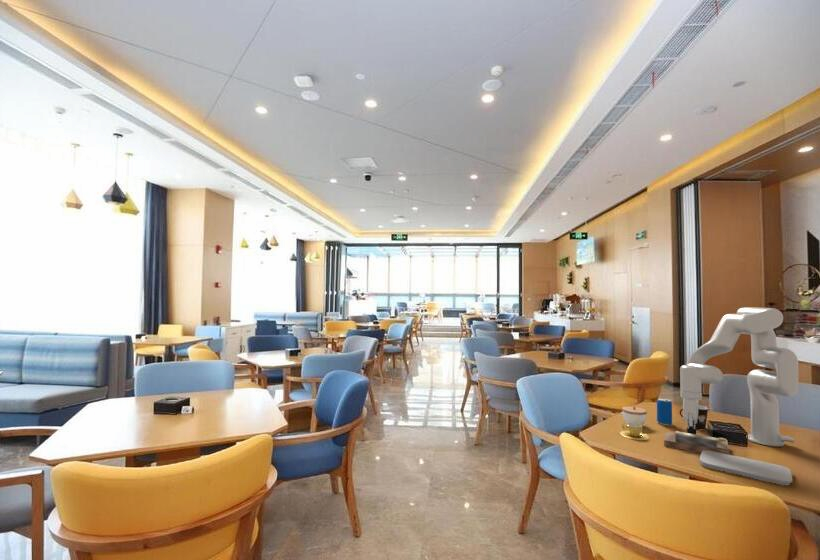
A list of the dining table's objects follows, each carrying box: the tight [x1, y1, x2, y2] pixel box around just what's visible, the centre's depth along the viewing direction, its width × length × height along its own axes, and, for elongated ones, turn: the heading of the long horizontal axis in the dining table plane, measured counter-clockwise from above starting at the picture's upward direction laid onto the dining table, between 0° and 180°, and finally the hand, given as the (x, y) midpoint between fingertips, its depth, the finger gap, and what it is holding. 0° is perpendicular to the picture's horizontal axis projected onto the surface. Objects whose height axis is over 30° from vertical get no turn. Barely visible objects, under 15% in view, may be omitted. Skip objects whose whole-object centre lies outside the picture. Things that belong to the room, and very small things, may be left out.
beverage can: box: [656, 397, 673, 426], centre depth 203 cm, size 6×6×12 cm
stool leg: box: [675, 430, 729, 449], centre depth 168 cm, size 18×3×4 cm, turn 55°
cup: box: [619, 422, 650, 441], centre depth 185 cm, size 12×12×5 cm
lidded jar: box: [621, 405, 648, 425], centre depth 200 cm, size 11×11×9 cm
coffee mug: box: [679, 404, 709, 430], centre depth 198 cm, size 12×9×10 cm
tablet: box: [699, 450, 793, 486], centre depth 150 cm, size 16×26×2 cm, turn 49°
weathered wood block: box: [663, 431, 731, 455], centre depth 172 cm, size 22×13×6 cm, turn 54°
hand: (691, 437), depth 173 cm, fingers closed
